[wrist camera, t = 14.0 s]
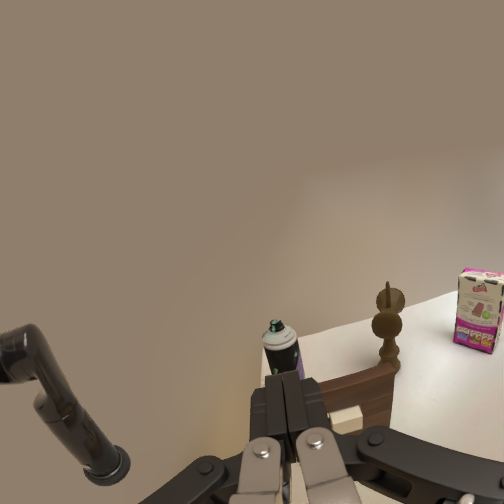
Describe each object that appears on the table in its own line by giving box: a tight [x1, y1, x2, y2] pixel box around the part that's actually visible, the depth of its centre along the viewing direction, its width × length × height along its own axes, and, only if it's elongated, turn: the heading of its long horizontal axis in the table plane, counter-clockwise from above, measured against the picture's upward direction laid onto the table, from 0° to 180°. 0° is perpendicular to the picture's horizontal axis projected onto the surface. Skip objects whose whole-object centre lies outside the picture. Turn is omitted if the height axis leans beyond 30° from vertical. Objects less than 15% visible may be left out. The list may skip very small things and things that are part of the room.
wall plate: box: [318, 362, 395, 435], centre depth 34 cm, size 8×14×16 cm, turn 89°
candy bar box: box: [453, 268, 504, 354], centre depth 42 cm, size 11×5×16 cm, turn 28°
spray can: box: [262, 320, 305, 380], centre depth 44 cm, size 6×6×20 cm
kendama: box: [372, 281, 405, 373], centre depth 46 cm, size 6×10×20 cm, turn 150°
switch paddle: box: [329, 404, 363, 434], centre depth 30 cm, size 3×4×3 cm
